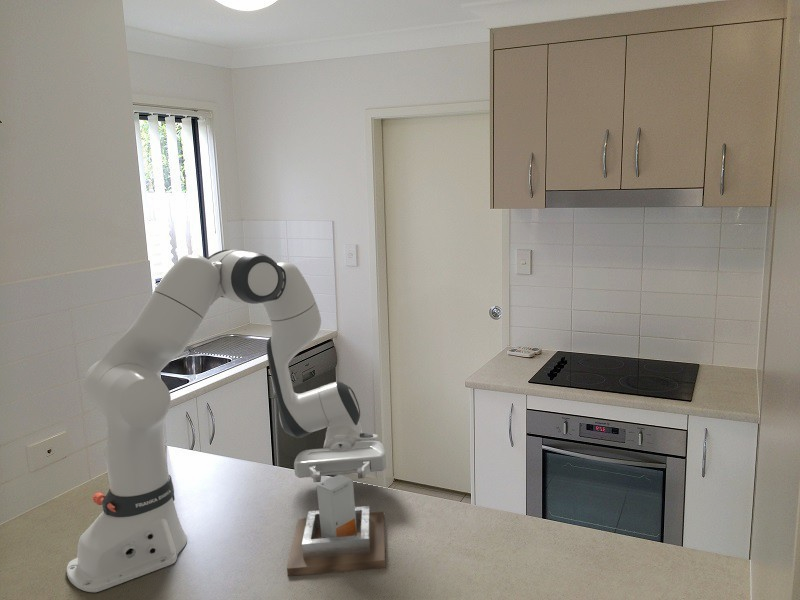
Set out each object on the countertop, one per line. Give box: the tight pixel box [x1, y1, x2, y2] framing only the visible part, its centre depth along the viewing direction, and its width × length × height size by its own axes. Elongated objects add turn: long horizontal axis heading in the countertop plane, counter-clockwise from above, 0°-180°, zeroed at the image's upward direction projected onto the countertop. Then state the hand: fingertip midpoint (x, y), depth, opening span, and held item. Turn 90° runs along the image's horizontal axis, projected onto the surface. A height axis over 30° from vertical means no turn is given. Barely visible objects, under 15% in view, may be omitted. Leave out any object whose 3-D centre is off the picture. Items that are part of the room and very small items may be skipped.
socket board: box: [286, 505, 386, 577], centre depth 133 cm, size 18×18×4 cm
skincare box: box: [316, 474, 357, 538], centre depth 132 cm, size 6×4×12 cm
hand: (338, 477), depth 143 cm, fingers open, 8 cm apart
